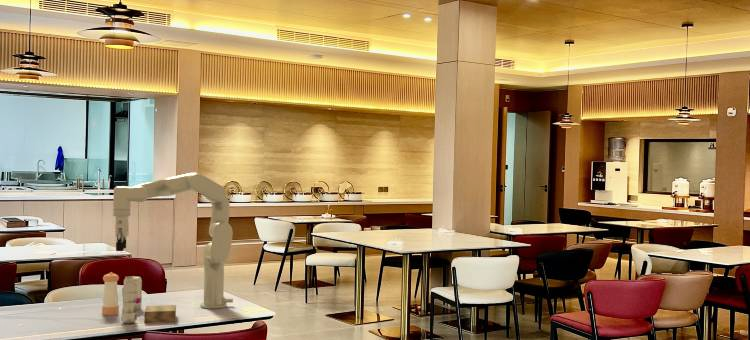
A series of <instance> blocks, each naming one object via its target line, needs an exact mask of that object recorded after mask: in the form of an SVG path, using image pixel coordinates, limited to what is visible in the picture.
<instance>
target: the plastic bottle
mask: <svg viewBox="0 0 750 340" xmlns="http://www.w3.org/2000/svg"><path fill="white" fill-rule="evenodd" d="M125 277H126V278H124V280H125V282H126V284H125V285H124V284H123V287H122V289H121V294H122V295H121V296H122V309H121V311H122V312H121V315H120V316H121V317H120V318H121V319H120V320H121V322H122V323H123V324H127V325H128V324H134V323H135V322H137V319H138V313H137V310H136V297H137V291H138V289H137V287H136V285H135V284H134V277H130V276H125Z"/></svg>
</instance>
